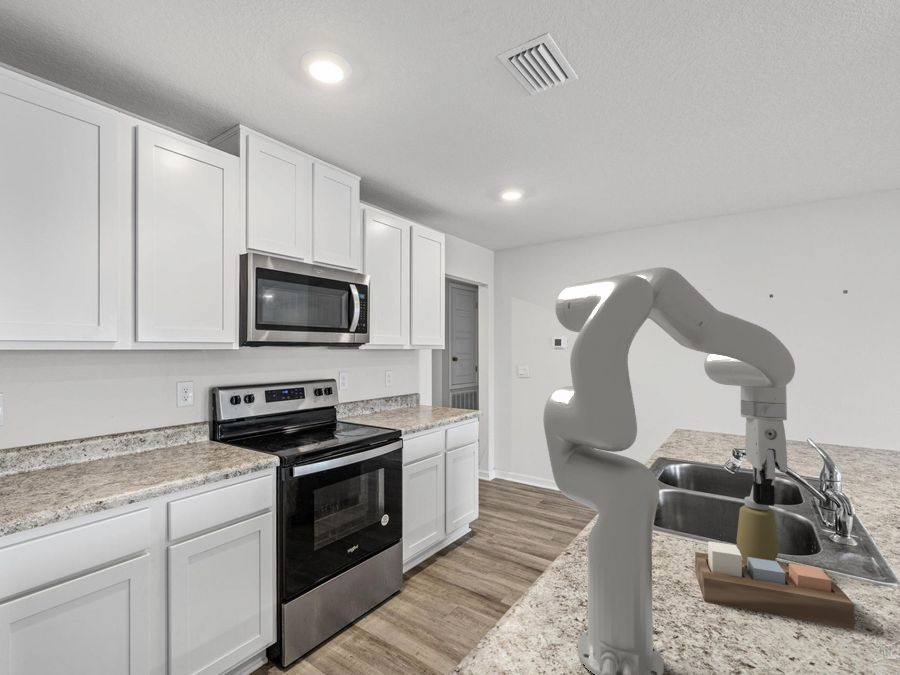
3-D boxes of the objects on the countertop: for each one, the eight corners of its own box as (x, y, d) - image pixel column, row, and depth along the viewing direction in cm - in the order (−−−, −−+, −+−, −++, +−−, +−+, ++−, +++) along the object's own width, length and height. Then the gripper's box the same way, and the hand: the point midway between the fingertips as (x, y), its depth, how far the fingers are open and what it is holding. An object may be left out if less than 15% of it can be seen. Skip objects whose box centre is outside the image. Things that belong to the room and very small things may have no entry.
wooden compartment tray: (854, 629, 77) (853, 603, 77) (704, 601, 86) (703, 577, 86) (825, 594, 88) (825, 572, 88) (695, 572, 97) (695, 551, 97)
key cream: (741, 583, 86) (741, 555, 87) (712, 577, 88) (712, 551, 89) (736, 571, 91) (735, 545, 91) (708, 566, 93) (708, 541, 93)
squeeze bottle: (738, 551, 108) (737, 476, 108) (780, 561, 102) (778, 483, 103) (734, 563, 101) (733, 484, 102) (778, 574, 96) (776, 491, 97)
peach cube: (831, 609, 81) (830, 580, 81) (798, 603, 83) (797, 574, 83) (820, 595, 86) (819, 567, 86) (789, 590, 88) (788, 563, 88)
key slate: (785, 601, 84) (784, 572, 84) (754, 595, 86) (753, 567, 86) (777, 588, 88) (776, 561, 89) (747, 583, 90) (747, 556, 90)
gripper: (799, 416, 80) (800, 519, 79) (774, 407, 94) (774, 495, 93) (750, 413, 83) (751, 513, 82) (732, 405, 97) (733, 490, 96)
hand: (763, 503), depth 88 cm, fingers closed
